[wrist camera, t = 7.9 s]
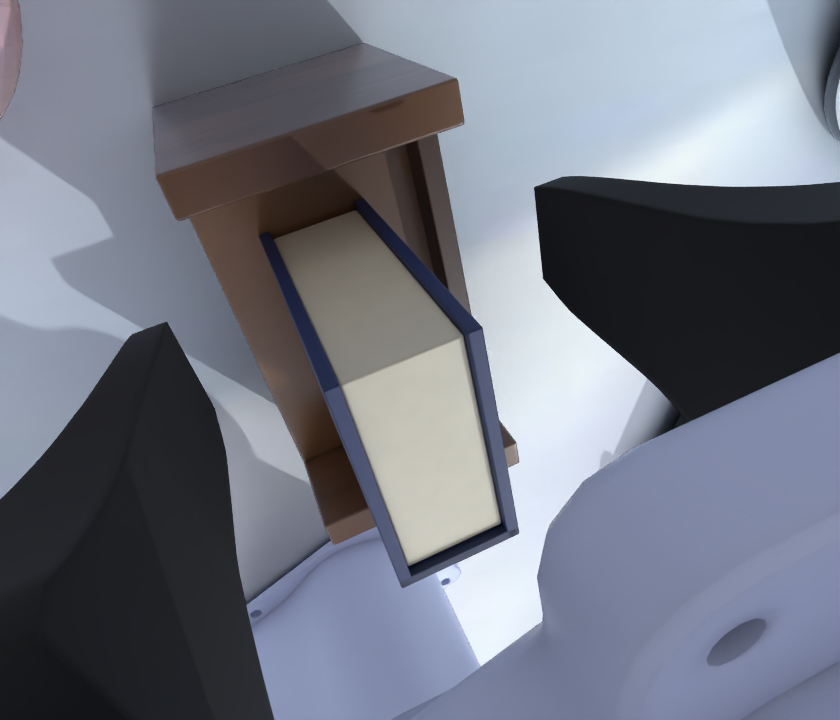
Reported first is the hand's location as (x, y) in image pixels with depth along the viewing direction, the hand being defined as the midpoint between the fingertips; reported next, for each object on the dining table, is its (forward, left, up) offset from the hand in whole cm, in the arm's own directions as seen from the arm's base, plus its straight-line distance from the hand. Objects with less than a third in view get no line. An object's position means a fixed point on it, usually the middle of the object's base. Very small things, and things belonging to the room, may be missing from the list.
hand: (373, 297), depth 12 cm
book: (-1, -3, -6) cm, 7 cm away
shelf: (-1, -3, -10) cm, 11 cm away
